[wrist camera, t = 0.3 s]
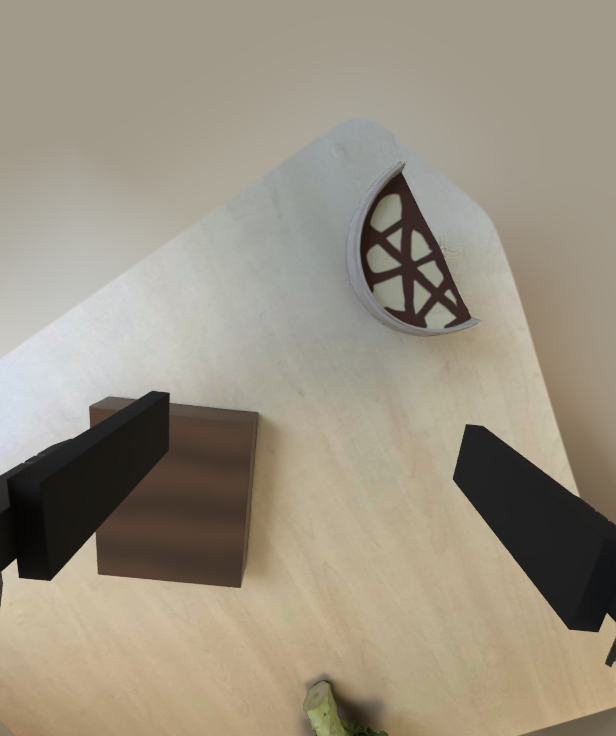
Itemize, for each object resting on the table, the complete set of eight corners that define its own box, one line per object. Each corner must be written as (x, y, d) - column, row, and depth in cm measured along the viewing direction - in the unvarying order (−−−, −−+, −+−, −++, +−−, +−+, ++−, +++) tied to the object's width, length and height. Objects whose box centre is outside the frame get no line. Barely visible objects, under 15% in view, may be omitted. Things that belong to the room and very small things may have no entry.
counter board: (108, 396, 33) (88, 406, 30) (258, 412, 33) (253, 423, 30) (114, 553, 37) (97, 574, 35) (246, 565, 38) (240, 588, 35)
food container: (312, 238, 29) (314, 209, 20) (370, 201, 28) (401, 152, 19) (374, 348, 32) (403, 372, 22) (429, 317, 31) (484, 327, 21)
